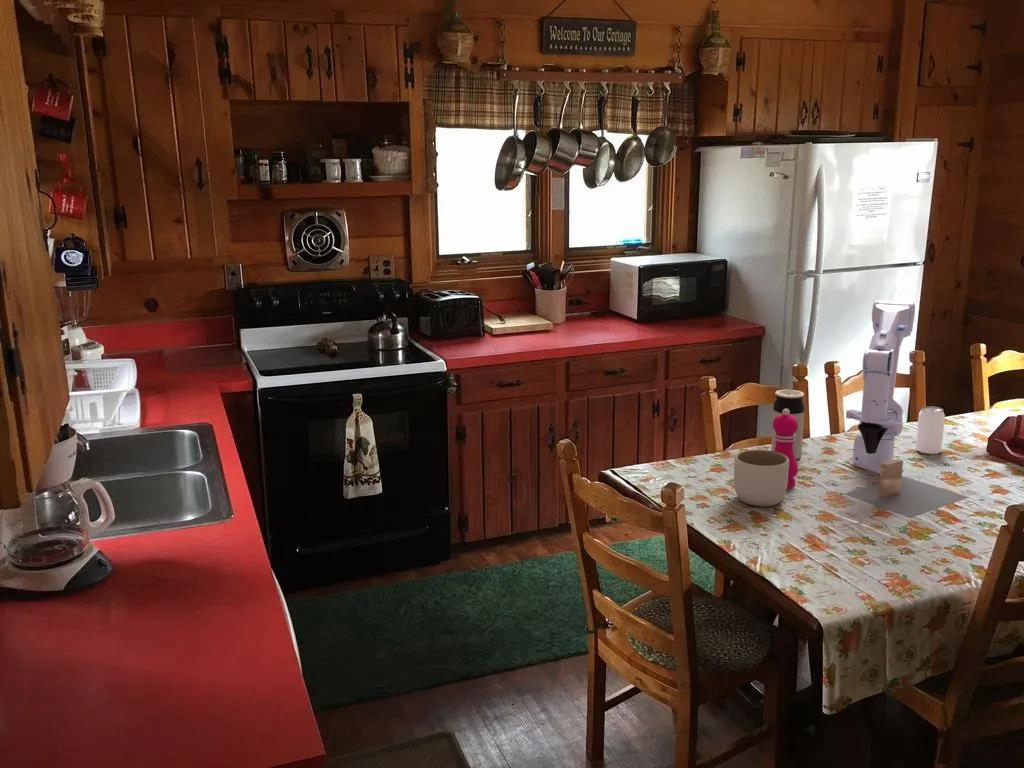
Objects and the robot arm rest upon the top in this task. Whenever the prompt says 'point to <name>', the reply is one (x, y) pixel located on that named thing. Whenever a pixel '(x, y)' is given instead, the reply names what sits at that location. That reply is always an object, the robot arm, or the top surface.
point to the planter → (760, 477)
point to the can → (930, 430)
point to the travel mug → (796, 408)
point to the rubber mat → (908, 497)
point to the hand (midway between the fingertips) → (870, 452)
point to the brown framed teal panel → (890, 477)
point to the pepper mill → (786, 441)
